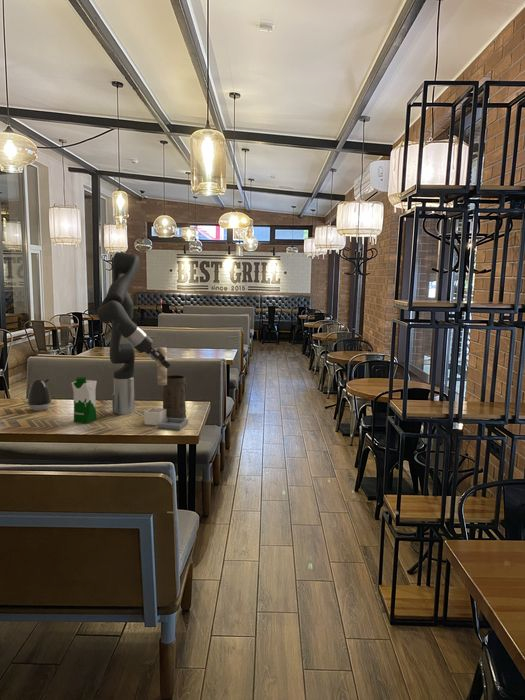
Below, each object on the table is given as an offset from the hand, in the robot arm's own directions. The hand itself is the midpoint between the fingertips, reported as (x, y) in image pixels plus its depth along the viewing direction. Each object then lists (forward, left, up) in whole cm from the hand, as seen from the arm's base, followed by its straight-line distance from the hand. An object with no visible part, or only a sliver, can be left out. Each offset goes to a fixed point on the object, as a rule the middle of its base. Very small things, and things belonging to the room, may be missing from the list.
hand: (166, 365), depth 209 cm
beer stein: (-1, +13, -27) cm, 30 cm away
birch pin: (-1, -1, -8) cm, 8 cm away
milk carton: (-37, -4, -27) cm, 46 cm away
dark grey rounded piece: (-68, +7, -27) cm, 73 cm away
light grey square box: (-6, 0, -26) cm, 27 cm away
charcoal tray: (+4, -3, -26) cm, 27 cm away
